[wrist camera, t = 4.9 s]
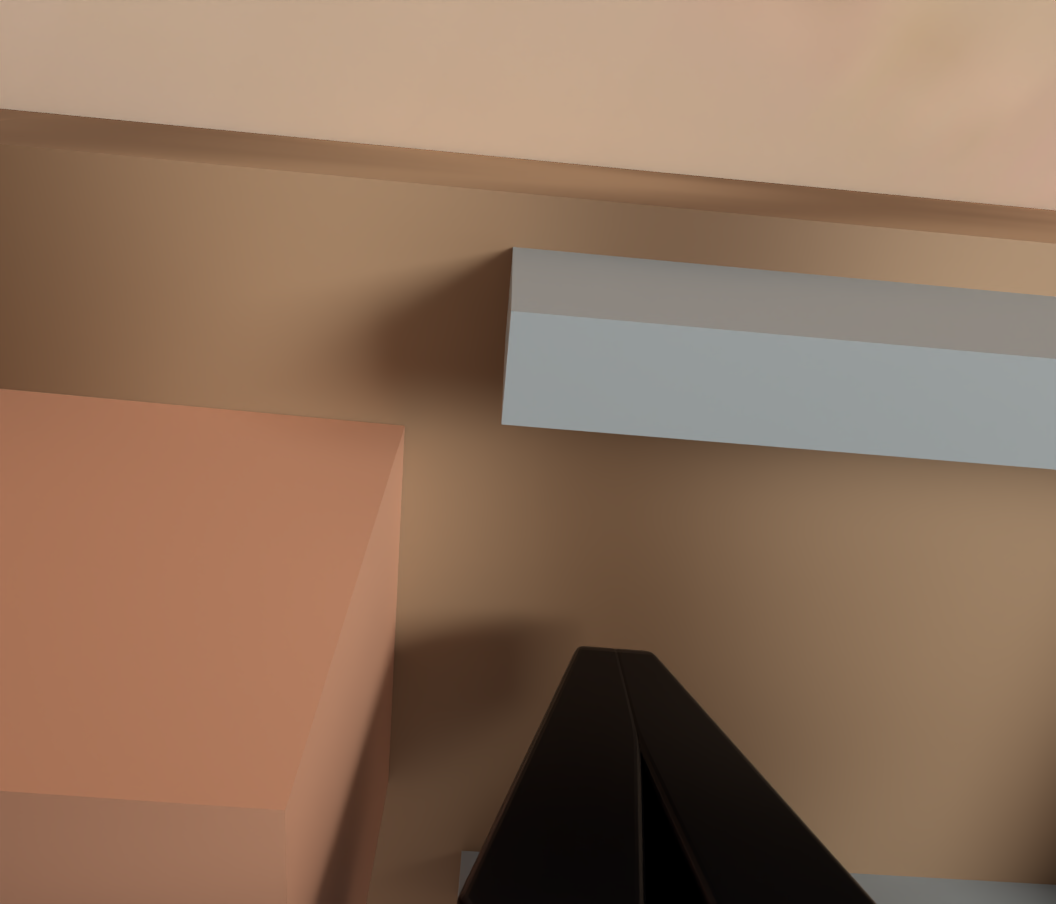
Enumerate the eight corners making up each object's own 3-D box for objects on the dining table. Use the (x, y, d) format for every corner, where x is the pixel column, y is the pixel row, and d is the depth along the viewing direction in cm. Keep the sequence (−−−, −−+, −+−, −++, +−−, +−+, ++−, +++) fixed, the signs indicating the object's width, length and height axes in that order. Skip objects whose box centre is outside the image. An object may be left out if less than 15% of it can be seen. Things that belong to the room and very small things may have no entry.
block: (405, 426, 8) (285, 811, 4) (388, 781, 10) (294, 1291, 6) (-90, 379, 8) (-756, 738, 4) (-12, 753, 10) (-397, 1261, 6)
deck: (1299, 234, 10) (1530, 289, 8) (1032, 806, 14) (1135, 956, 11) (-488, 61, 9) (-830, 65, 7) (-244, 727, 13) (-409, 874, 10)
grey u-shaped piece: (1502, 337, 8) (1798, 424, 6) (1149, 933, 11) (1270, 1104, 9) (512, 247, 7) (510, 310, 6) (457, 896, 11) (445, 1066, 9)
